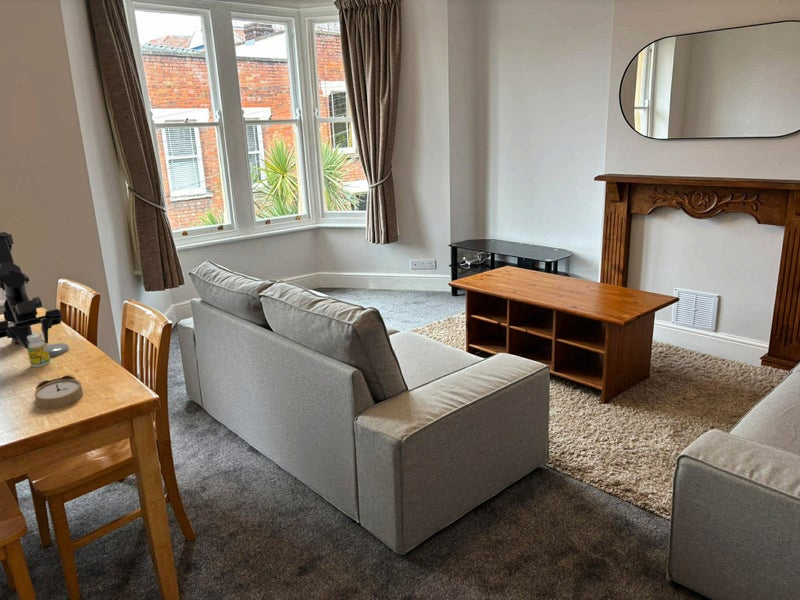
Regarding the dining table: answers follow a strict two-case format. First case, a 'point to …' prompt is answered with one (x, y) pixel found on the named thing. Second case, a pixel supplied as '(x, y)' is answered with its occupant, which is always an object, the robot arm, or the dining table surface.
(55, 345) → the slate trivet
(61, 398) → the alarm clock
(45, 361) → the supplement bottle
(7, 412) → the dining table surface
